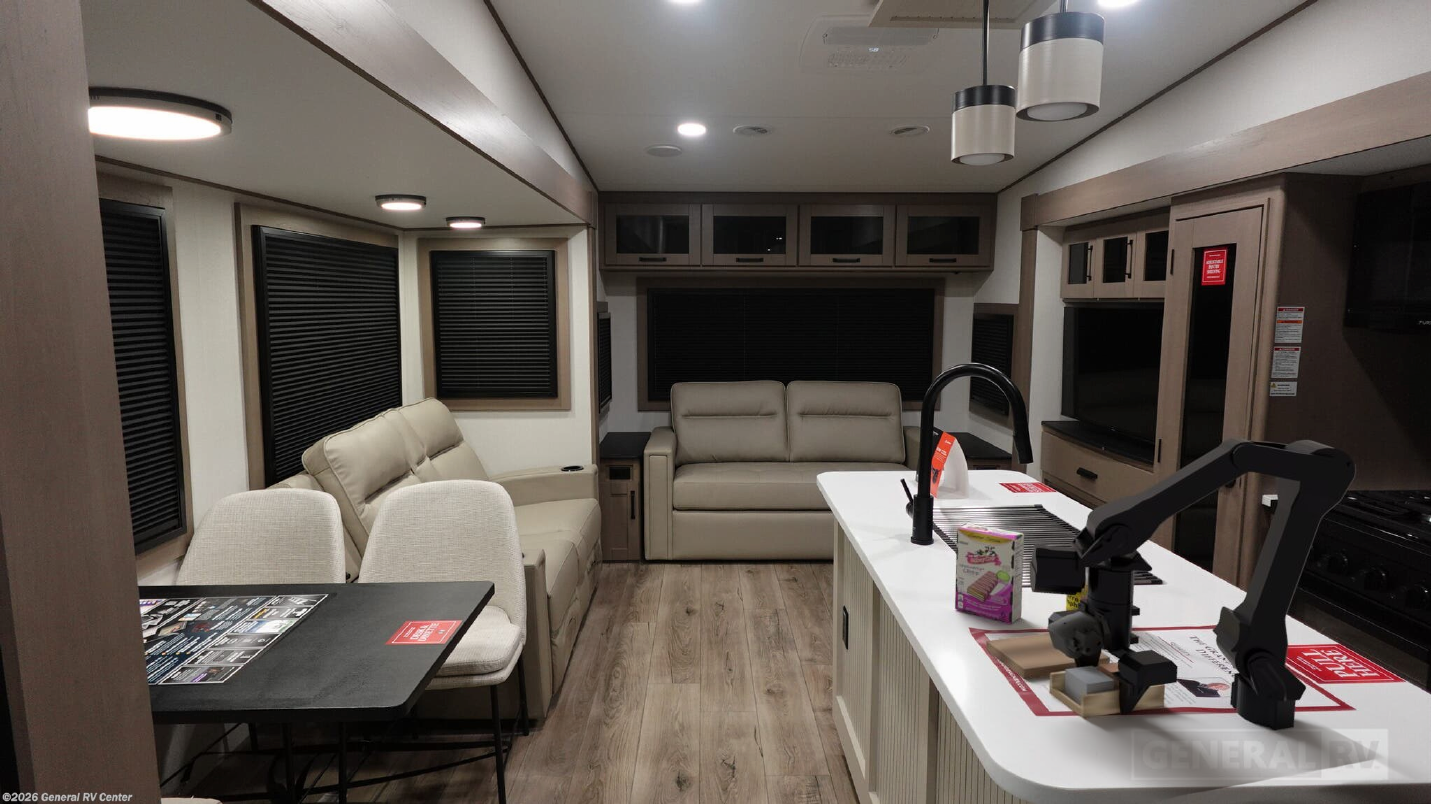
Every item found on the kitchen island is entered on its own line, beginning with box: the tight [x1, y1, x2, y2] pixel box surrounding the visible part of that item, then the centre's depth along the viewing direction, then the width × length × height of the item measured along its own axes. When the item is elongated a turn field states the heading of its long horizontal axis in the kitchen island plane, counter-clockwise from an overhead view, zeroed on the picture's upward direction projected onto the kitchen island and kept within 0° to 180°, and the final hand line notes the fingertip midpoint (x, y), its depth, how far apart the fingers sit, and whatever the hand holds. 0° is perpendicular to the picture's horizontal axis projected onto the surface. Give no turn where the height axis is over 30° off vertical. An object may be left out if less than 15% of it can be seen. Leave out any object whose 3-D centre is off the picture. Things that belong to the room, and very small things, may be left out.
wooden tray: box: [1049, 666, 1166, 719], centre depth 104 cm, size 13×7×4 cm, turn 102°
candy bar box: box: [954, 522, 1025, 625], centre depth 137 cm, size 11×5×16 cm, turn 47°
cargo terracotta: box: [1099, 661, 1119, 690], centre depth 105 cm, size 4×4×4 cm
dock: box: [985, 632, 1111, 680], centre depth 117 cm, size 10×15×3 cm, turn 102°
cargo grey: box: [1064, 666, 1114, 706], centre depth 104 cm, size 4×4×4 cm
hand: (1105, 702), depth 104 cm, fingers closed on wooden tray, 7 cm apart
